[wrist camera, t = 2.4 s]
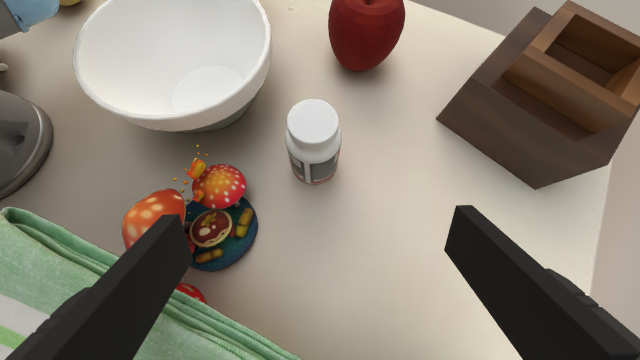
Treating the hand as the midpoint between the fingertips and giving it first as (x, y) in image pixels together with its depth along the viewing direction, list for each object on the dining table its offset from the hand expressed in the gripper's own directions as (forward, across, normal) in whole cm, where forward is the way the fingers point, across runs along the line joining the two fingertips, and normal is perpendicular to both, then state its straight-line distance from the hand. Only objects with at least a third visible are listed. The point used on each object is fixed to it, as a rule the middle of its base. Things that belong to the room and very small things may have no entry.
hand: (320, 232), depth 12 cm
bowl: (+26, -14, +3) cm, 30 cm away
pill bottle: (+19, 0, -4) cm, 20 cm away
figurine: (+14, -12, -9) cm, 20 cm away
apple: (+31, +7, +8) cm, 33 cm away
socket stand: (+24, +27, 0) cm, 36 cm away
